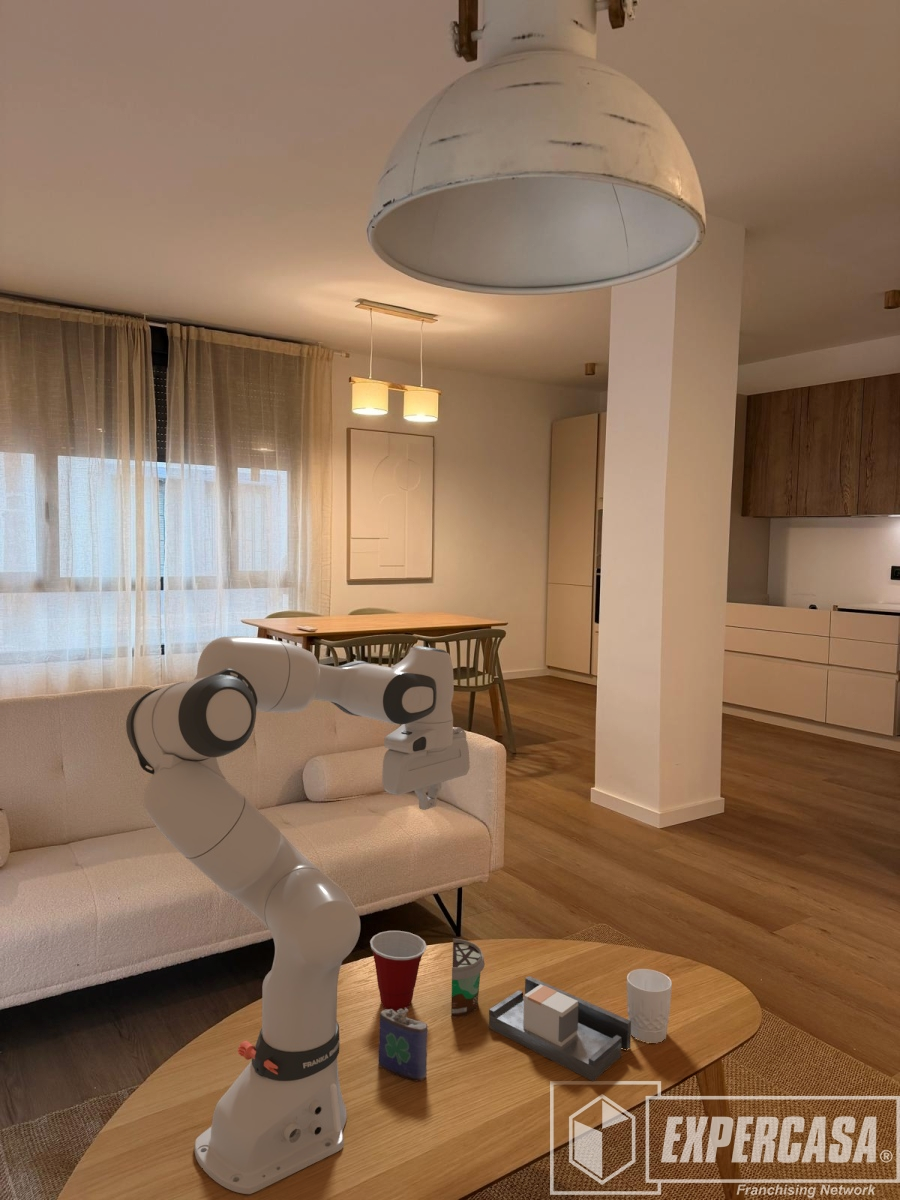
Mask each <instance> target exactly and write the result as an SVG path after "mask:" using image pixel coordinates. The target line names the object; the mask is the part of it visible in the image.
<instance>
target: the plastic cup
mask: <svg viewBox="0 0 900 1200" xmlns="http://www.w3.org/2000/svg"><path fill="white" fill-rule="evenodd" d="M369 943H370V944H369V945H370V948H371V951H372V954H373V960H374V966H375V973H376V981H377V986H378V990H379V998H380V1002H381V1007H383V1008H384V1009H390V1010H391V1009H393V1010H394V1011H395V1012H397V1010H399V1009H403V1010H406V1009H405V1008H407V1009H408V1008H409V1007H410V1006H411V1003H412V1001H413V997H414V992H415V987H416V983H417V977H418V973H419V967H420V963H421V962H422V961H421V960H422V957H423V955H425V952H426V950H427V943H426V941H425V940H424V939H423V938H422V937H420V936H419V935H417V934H413V932H412V933H411V932H409V931H403V930H402V931H401V930H387V931H386V930H385V931H382V932H378V933H377V934H375V935H373V936H372V938H371V939H370V940H369Z"/></svg>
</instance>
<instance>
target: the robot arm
mask: <svg viewBox="0 0 900 1200" xmlns="http://www.w3.org/2000/svg"><path fill="white" fill-rule="evenodd" d="M316 657H317V656H315V654H314V653H313V652H312V651H309V650H307V649H305V648H303V647H300V646H298V645H295V644H293V643H289V642H286V641H283V640H282V641H281V640H276V639H271V638H266V637H256V636H238V635H237V636H233V635H232V636H221V637H218V638H216V639H214V640H212V641H210V642H209V643H208V644H207V645H206V646H205V648H204V649H203V650H202V652H201V654H200V656H199V659H198V662H197V667H196V676H195V677H194V679H192V680H189V681H180V682H175V683H173V684H169V685H167V686H165V687H162V688H157V689H153V690H151V691H149V692H147V693H146V694H144V695H143V696H141V697H140V698H139V699H138V700H136V702H134V704H133V705H132V706H131V708H130V710H129V712H128V714H127V717H126V723H125V729H126V730H125V731H126V734H127V735H126V736H127V739H128V741H129V743H130V745H131V747H132V749H133V750H134V752H135V754H136V756H137V760H138V763H139V766H140V768H141V769H142V770H143V771H145V772H147V773H149V774H151V777H150V778H149V780H148V781H147V783H146V784H145V785H146V786H145V788H144V791H143V794H142V806H143V809H144V811H145V813H146V815H147V816H148V818H149V819H150V820H151V822H152V823H153V824H154V825H155V827H156V828H157V829H158V831H159V832H160V833H161V834H162V835H163V836H164V838H165V839H166V840H167V841H168V842H169V843H170V844H171V845H172V847H174V849H176V850H177V851H178V852H179V853H180V854H181V855H182V856H184V858H185V859H187V860H188V861H189V862H190V863H191V864H193V865H194V867H196V868H197V869H198V870H199V871H200V872H202V873H203V874H204V875H205V876H206V877H207V878H209V880H211V882H213V883H214V884H215V885H216V886H218V888H220V889H221V890H222V891H224V892H225V893H227V894H228V895H229V896H230V897H232V898H233V899H235V900H236V901H237V902H239V903H240V904H241V905H242V906H243V907H244V908H246V909H247V910H248V911H250V912H251V913H252V914H253V915H254V916H255V917H257V918H258V920H259V921H260V922H261V923H262V924H263V925H264V926H265V927H266V929H268V931H270V933H271V937H272V939H273V943H274V957H273V962H272V966H271V970H270V971H268V973H267V974H266V975H265V977H264V979H263V981H262V988H261V989H262V992H261V993H262V997H261V999H262V1002H261V1003H262V1007H261V1008H262V1009H261V1010H262V1012H261V1014H262V1015H261V1017H262V1020H261V1023H262V1026H261V1029H260V1030H259V1033H258V1037H257V1040H256V1042H255V1043H256V1044H255V1045H253V1044H251V1042H250V1041H249V1040H244V1041H242V1042H241V1043H240V1044H239V1046H238V1049H237V1053H238V1055H240V1056H241V1057H243V1058H244V1060H247V1061H249V1060H251V1061H250V1062H249V1063H248V1065H246V1067H245V1068H244V1069H243V1070H242V1072H241V1073H240V1074H239V1076H238V1077H237V1078H236V1079H235V1081H234V1082H233V1083H232V1085H230V1087H229V1088H228V1089H227V1091H226V1092H225V1093H224V1094H223V1095H222V1096H221V1098H220V1099H219V1100H218V1102H217V1103H216V1106H215V1109H214V1111H213V1115H212V1122H211V1126H209V1127H208V1128H207V1129H206V1130H205V1131H203V1132H202V1133H201V1134H200V1135H198V1136H197V1137H196V1139H195V1141H194V1156H195V1159H196V1161H197V1163H198V1165H199V1166H200V1167H201V1169H202V1168H203V1169H202V1171H204V1172H205V1173H206V1174H207V1175H208V1177H209V1178H211V1179H212V1180H214V1182H216V1183H217V1184H219V1186H222V1187H223V1188H226V1189H227V1190H229V1191H232V1192H236V1193H238V1194H245V1195H252V1194H254V1193H256V1192H258V1191H261V1190H263V1189H265V1188H267V1187H268V1186H271V1185H273V1184H275V1183H277V1182H279V1181H281V1180H283V1179H285V1178H287V1177H289V1176H292V1175H293V1174H295V1173H297V1172H299V1171H302V1170H304V1169H305V1168H308V1167H309V1166H311V1165H313V1164H315V1163H318V1162H319V1161H322V1160H324V1159H325V1158H327V1157H329V1156H332V1155H334V1154H336V1153H337V1152H339V1151H341V1150H342V1149H343V1147H344V1144H345V1143H344V1133H343V1130H344V1127H345V1125H346V1122H347V1115H348V1114H347V1109H346V1106H345V1103H344V1100H343V1093H342V1089H341V1085H340V1084H341V1083H340V1078H339V1067H338V1056H339V1054H340V1044H341V1043H340V1025H339V1023H338V1021H337V1020H338V1019H337V1018H338V1012H337V1011H338V985H339V984H338V983H339V976H340V972H341V971H340V969H341V967H342V964H343V961H344V960H345V959H346V958H347V957H348V956H349V955H350V954H351V953H352V951H353V950H354V948H355V946H356V945H357V943H358V940H359V937H360V933H361V919H360V915H359V913H358V911H357V909H356V906H355V905H354V903H353V902H352V900H351V898H350V897H349V894H348V893H347V892H346V891H345V890H344V889H343V888H342V887H340V886H339V885H338V884H337V883H336V882H335V881H334V880H332V879H331V878H330V877H329V876H328V875H327V874H326V873H325V872H323V871H322V870H321V869H320V868H319V867H317V866H316V865H315V863H313V862H312V861H311V860H309V858H308V857H306V856H305V855H304V854H303V853H302V852H301V851H300V850H299V849H298V848H297V847H296V846H295V845H294V844H293V843H292V842H291V841H290V840H289V839H288V837H286V836H285V835H284V834H283V833H282V832H281V830H280V829H279V828H278V827H277V826H276V825H275V824H274V823H273V822H272V821H271V820H270V819H269V818H268V817H267V816H266V815H264V814H263V813H262V812H261V811H260V810H259V809H258V808H257V807H256V806H255V805H254V804H253V803H252V802H251V801H250V800H249V798H247V797H246V796H245V795H244V794H242V793H241V791H239V790H238V789H237V788H236V787H235V786H234V785H233V784H232V783H231V782H229V781H228V780H227V779H226V777H225V775H224V774H223V772H222V771H221V768H220V766H219V763H218V760H217V758H220V757H224V756H226V755H229V754H231V753H233V752H235V751H237V750H238V749H240V748H241V747H242V746H244V745H245V744H246V743H247V741H248V740H249V739H250V737H251V735H252V733H253V731H254V727H255V724H256V720H257V719H256V718H257V711H258V712H263V713H264V712H265V713H278V714H279V713H281V714H284V713H287V714H288V713H296V712H302V711H304V710H305V709H306V708H308V706H309V705H311V704H312V702H313V701H314V700H315V701H323V702H330V703H332V704H333V705H335V707H337V709H339V710H340V711H342V712H343V713H345V714H348V715H350V716H355V717H363V718H367V719H371V720H375V721H378V722H383V723H387V724H392V725H400V726H399V727H398V728H396V729H395V730H393V731H392V732H391V733H389V734H388V735H385V737H384V740H383V746H384V748H385V749H387V750H386V752H385V753H384V755H383V761H382V772H381V773H382V778H381V779H382V787H383V789H384V791H385V792H387V794H392V795H394V796H395V795H396V796H401V795H404V794H408V793H410V792H414V794H415V795H416V797H417V799H418V808H419V809H420V810H422V811H427V810H429V809H431V808H432V809H433V808H435V807H437V803H438V802H437V800H438V799H437V798H438V797H439V794H440V791H441V790H442V783H443V782H446V781H450V780H453V779H457V778H460V777H464V776H467V775H468V774H469V770H470V768H471V767H470V766H471V765H470V763H471V762H470V751H469V749H470V748H469V744H468V741H467V732H466V731H465V729H463V728H462V727H459V726H457V727H454V715H453V712H452V710H453V709H452V701H453V698H454V689H455V688H454V683H455V682H454V667H453V660H452V658H451V655H450V653H449V652H447V651H446V650H445V649H441V648H436V647H428V646H422V645H415V646H411V647H410V649H409V650H408V653H407V655H406V656H405V657H403V659H401V660H400V661H399V662H397V663H395V664H394V665H392V666H384V665H378V664H374V663H371V662H368V661H367V662H366V661H364V660H355V661H351V662H346V663H345V664H342V665H338V666H333V665H327V664H322V663H319V661H318V659H317V658H316ZM150 768H151V769H150Z"/></svg>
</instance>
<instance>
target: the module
mask: <svg viewBox="0 0 900 1200" xmlns="http://www.w3.org/2000/svg"><path fill="white" fill-rule="evenodd" d="M523 997H524V1019H523V1028H524V1029H526V1030H528V1031H530V1032H532V1033H534V1034H536V1035H538V1036H540V1037H542V1038H545V1039H547V1040H549V1041H551V1042H553V1043H555V1044H557V1045H559V1046H561V1047H562V1046H563V1045H564V1044H565V1043H567V1042H568V1041H569V1040H570V1039H572V1038H573V1037H574V1036H575V1035H577V1030H578V1001H577V1000H575V999H573V998H570V997H568V996H566V995H564V994H561V993H559V992H557V991H556V990H553V989H551V988H549V987H547V986H543V985H541V984H540V985H539V986H537V987H536V988H534V989H533V990H531V991H530V992H528V993H527V994H525V993H524V994H523Z"/></svg>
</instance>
